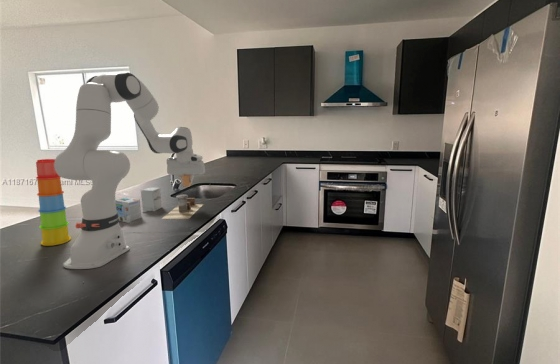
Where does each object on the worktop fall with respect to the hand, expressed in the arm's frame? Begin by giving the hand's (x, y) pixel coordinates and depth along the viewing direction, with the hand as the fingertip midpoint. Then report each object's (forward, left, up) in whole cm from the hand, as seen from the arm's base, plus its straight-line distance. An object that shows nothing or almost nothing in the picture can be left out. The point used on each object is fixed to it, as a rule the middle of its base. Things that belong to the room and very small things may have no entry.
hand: (187, 182), depth 165 cm
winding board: (-7, +1, -16) cm, 17 cm away
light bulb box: (-18, +25, -16) cm, 34 cm away
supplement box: (-3, +20, -16) cm, 25 cm away
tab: (0, 0, -2) cm, 2 cm away
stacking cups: (-45, +42, -16) cm, 63 cm away
